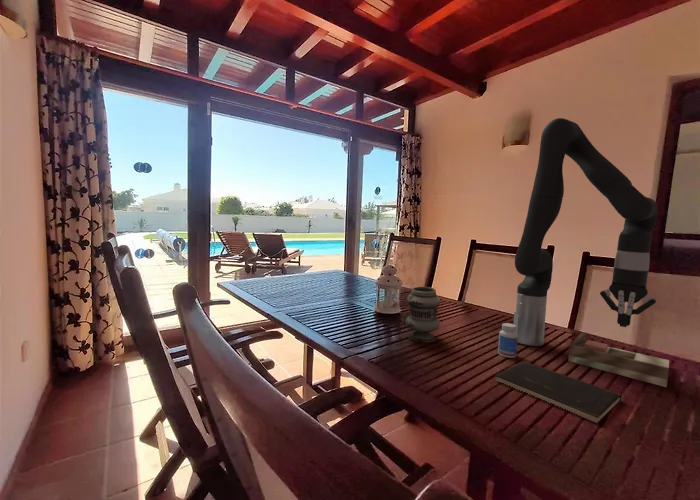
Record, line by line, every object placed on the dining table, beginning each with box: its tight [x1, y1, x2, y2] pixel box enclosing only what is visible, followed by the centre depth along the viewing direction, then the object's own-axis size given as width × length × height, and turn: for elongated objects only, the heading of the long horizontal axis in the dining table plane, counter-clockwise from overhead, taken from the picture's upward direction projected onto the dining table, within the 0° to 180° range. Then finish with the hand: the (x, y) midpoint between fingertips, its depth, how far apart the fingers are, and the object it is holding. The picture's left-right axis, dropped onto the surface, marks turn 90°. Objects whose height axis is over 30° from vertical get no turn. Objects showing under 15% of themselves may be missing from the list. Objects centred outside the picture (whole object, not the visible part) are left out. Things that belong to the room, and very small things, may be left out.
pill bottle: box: [497, 322, 519, 359], centre depth 106 cm, size 6×5×10 cm
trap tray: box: [567, 331, 670, 388], centre depth 101 cm, size 22×18×5 cm
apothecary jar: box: [405, 286, 441, 343], centre depth 120 cm, size 12×12×18 cm
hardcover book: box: [494, 360, 622, 424], centre depth 84 cm, size 16×23×2 cm
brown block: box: [584, 339, 609, 353], centre depth 101 cm, size 5×5×4 cm
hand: (623, 326), depth 96 cm, fingers closed
